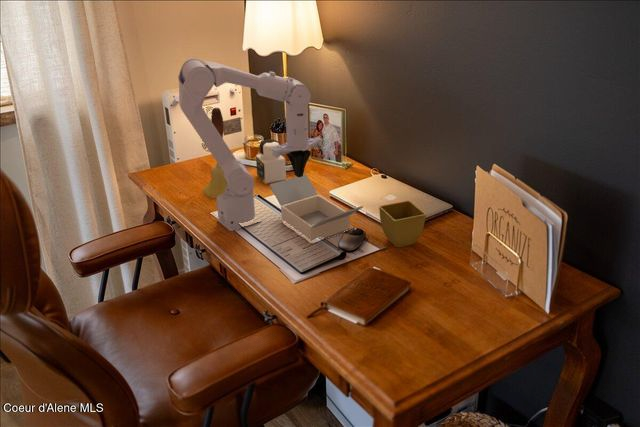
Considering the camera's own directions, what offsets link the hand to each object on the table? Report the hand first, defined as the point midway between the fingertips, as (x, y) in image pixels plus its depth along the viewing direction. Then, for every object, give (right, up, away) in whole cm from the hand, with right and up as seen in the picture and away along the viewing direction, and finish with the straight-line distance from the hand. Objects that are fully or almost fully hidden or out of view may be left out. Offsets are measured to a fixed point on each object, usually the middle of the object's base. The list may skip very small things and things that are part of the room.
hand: (298, 175), depth 160 cm
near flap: (+10, -11, -15) cm, 21 cm away
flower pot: (+26, -17, -11) cm, 33 cm away
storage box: (+4, -14, -4) cm, 15 cm away
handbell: (-23, -3, +18) cm, 29 cm away
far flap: (-1, -4, 0) cm, 4 cm away
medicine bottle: (-9, +1, +25) cm, 27 cm away
